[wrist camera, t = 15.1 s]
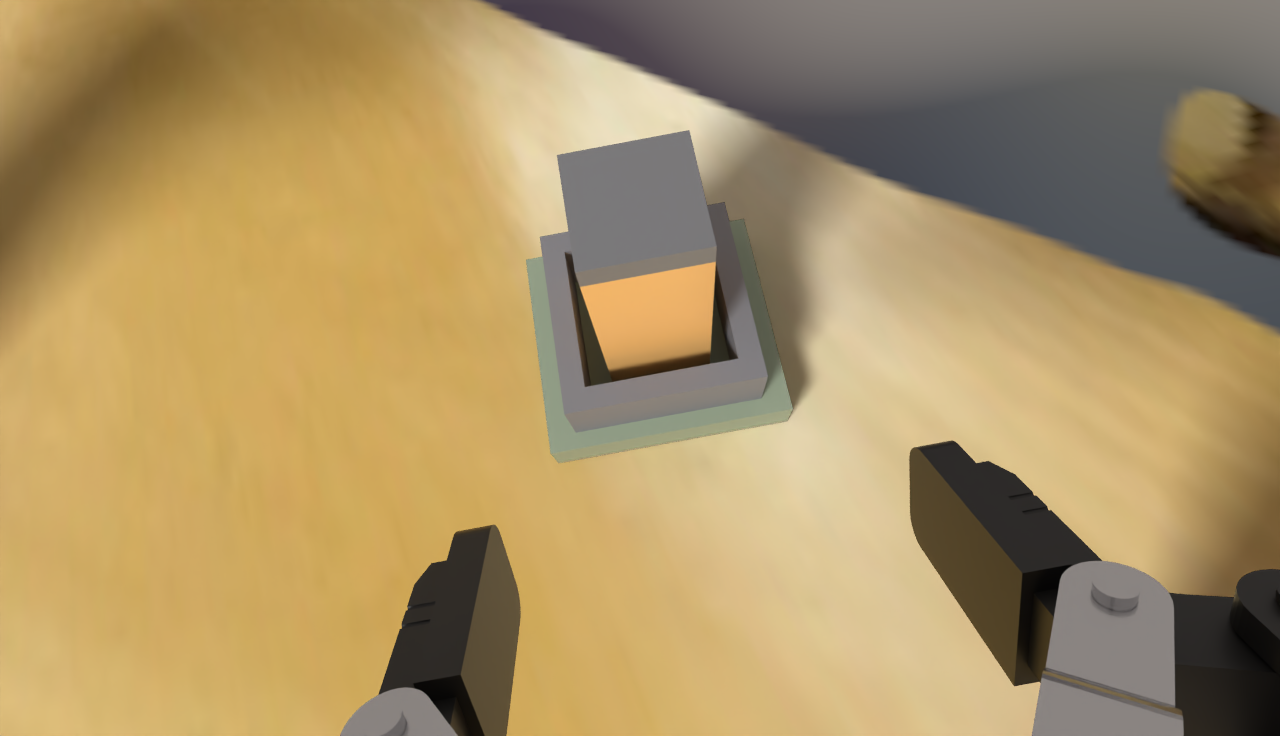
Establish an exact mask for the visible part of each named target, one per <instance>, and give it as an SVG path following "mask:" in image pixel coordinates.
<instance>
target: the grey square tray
mask: <svg viewBox="0 0 1280 736" xmlns="http://www.w3.org/2000/svg"><path fill="white" fill-rule="evenodd" d="M707 208H708V212H709V216H710V220H711V224H712V229H713V233H714V237H715V241H716V246H717V249H716V266H715V283H714V300H713V317H712V334H711V351H710V364H707V365H701V366H696V367H691V368H685V369H680V370H674V371H669V372H664V373H658V374H653V375H647V376H642V377H637V378H631V379H626V380H621V381H615V382H612V379H611V376H610V373H609V370H608V367H607V364H606V362H605V359H604V356H603V353H602V350H601V347H600V344H599V341H598V338H597V335H596V332H595V330H594V327H593V324H592V321H591V318H590V315H589V312H588V309H587V306H586V303H585V300H584V298H583V295H582V292H581V289H580V286H579V283H578V280H577V277H576V274H575V270H574V263H573V257H572V250H571V244H570V237H569V232H564V233H558V234H553V235H548V236H542V237H540V241H541V249H542V256H543V257H538V258H533V259H528V260H526V264H527V272H528V279H529V287H530V295H531V303H532V311H533V319H534V326H535V334H536V342H537V350H538V358H539V366H540V373H541V381H542V389H543V397H544V405H545V413H546V420H547V428H548V436H549V444H550V452H551V455H552V456H553V457H554V458H555V459H556V460H557V462H558V463H563V462H568V461H574V460H579V459H585V458H590V457H596V456H601V455H606V454H612V453H617V452H623V451H628V450H633V449H639V448H644V447H650V446H655V445H661V444H666V443H671V442H677V441H682V440H688V439H693V438H698V437H704V436H709V435H715V434H720V433H726V432H731V431H736V430H742V429H747V428H753V427H758V426H763V425H769V424H774V423H780V422H785V421H788V418H789V416H790V414H791V412H792V410H793V408H792V404H791V400H790V396H789V392H788V388H787V384H786V380H785V377H784V373H783V369H782V365H781V361H780V357H779V353H778V350H777V346H776V342H775V338H774V334H773V330H772V326H771V323H770V319H769V315H768V311H767V307H766V303H765V299H764V295H763V292H762V288H761V284H760V280H759V276H758V272H757V268H756V265H755V261H754V257H753V253H752V249H751V245H750V241H749V237H748V234H747V230H746V226H745V222H744V219H740V220H735V221H730V222H729V218H728V214H727V210H726V206H725V202H723V203H718V204H712V205H707Z"/></svg>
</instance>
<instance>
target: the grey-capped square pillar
mask: <svg viewBox="0 0 1280 736" xmlns="http://www.w3.org/2000/svg"><path fill="white" fill-rule="evenodd" d="M557 158H558V165H559V171H560V178H561V184H562V191H563V198H564V204H565V211H566V217H567V224H568V230H569V237H570V244H571V250H572V257H573V263H574V270H575V274H576V277H577V280H578V283H579V286H580V289H581V292H582V295H583V298H584V300H585V303H586V306H587V309H588V312H589V315H590V318H591V321H592V324H593V327H594V330H595V332H596V335H597V338H598V341H599V344H600V347H601V350H602V353H603V356H604V359H605V362H606V364H607V367H608V370H609V373H610V376H611V379H612V382H615V381H621V380H626V379H631V378H637V377H642V376H647V375H653V374H658V373H664V372H669V371H674V370H680V369H685V368H691V367H696V366H701V365H707V364H710V351H711V334H712V317H713V300H714V283H715V266H716V249H717V246H716V241H715V237H714V233H713V229H712V224H711V220H710V216H709V212H708V208H707V203H706V199H705V195H704V191H703V186H702V182H701V178H700V174H699V170H698V165H697V161H696V157H695V153H694V148H693V144H692V140H691V136H690V132H689V130H688V131H683V132H677V133H672V134H667V135H661V136H656V137H651V138H646V139H640V140H635V141H630V142H624V143H619V144H614V145H608V146H603V147H598V148H592V149H587V150H582V151H576V152H571V153H566V154H560V155H557Z"/></svg>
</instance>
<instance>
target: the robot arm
mask: <svg viewBox="0 0 1280 736" xmlns="http://www.w3.org/2000/svg"><path fill="white" fill-rule="evenodd" d="M909 461H910V516H911V522H912V527H913V530H914V534H915V536H916V539H917V541H918V543H919V545H920V547H921V548H922V550H923V551H924V553H925V554H926V556H927V557H928V559H929V560H930V562H931V563H932V565H933V566H934V568H935V569H936V571H937V572H938V574H939V575H940V577H941V578H942V580H943V581H944V583H945V584H946V585H947V587H948V588H949V590H950V591H951V593H952V594H953V596H954V597H955V599H956V600H957V602H958V603H959V605H960V606H961V608H962V609H963V611H964V612H965V614H966V615H967V617H968V618H969V620H970V621H971V623H972V624H973V626H974V627H975V629H976V630H977V632H978V633H979V635H980V636H981V638H982V639H983V640H984V642H985V643H986V645H987V646H988V648H989V649H990V651H991V652H992V654H993V655H994V657H995V658H996V660H997V661H998V663H999V664H1000V666H1001V667H1002V669H1003V670H1004V672H1005V673H1006V675H1007V676H1008V678H1009V679H1010V681H1011V682H1012V684H1013V685H1014V686H1018V685H1023V684H1029V683H1034V682H1040V683H1041V684H1040V690H1039V696H1038V702H1037V708H1036V714H1035V720H1034V726H1033V732H1032V736H1280V570H1276V569H1268V570H1259V571H1254V572H1251V573H1248V574H1246V575H1245V576H1243V577H1242V578H1241V579H1240V580H1239V581H1238V584H1237V587H1236V591H1235V595H1234V597H1219V596H1202V595H1185V594H1174V593H1168V591H1167V590H1166V589H1165V588H1164V587H1163V586H1162V585H1161V584H1160V583H1159V582H1158V581H1156V580H1155V579H1154V578H1152V577H1151V576H1149V575H1147V574H1145V573H1144V572H1141V571H1139V570H1137V569H1135V568H1132V567H1129V566H1126V565H1122V564H1119V563H1113V562H1107V561H1102V560H1101V559H1100V558H1099V557H1098V556H1097V555H1096V554H1095V553H1094V552H1093V551H1092V550H1091V549H1090V548H1089V547H1088V546H1087V545H1086V544H1085V543H1084V542H1083V541H1082V540H1081V539H1080V538H1079V537H1078V536H1077V535H1076V534H1075V533H1074V532H1073V531H1072V530H1071V529H1070V528H1069V527H1068V526H1067V525H1066V524H1065V523H1064V522H1062V521H1061V520H1060V519H1059V518H1058V517H1057V516H1056V515H1055V514H1054V513H1053V512H1052V511H1051V510H1050V511H1049V510H1048V508H1047V506H1046V505H1045V504H1044V503H1043V502H1042V501H1041V500H1040V499H1039V498H1038V497H1037V496H1034V495H1033V492H1032V491H1031V490H1030V489H1029V488H1028V487H1027V486H1026V485H1025V484H1024V483H1023V482H1022V481H1021V480H1020V479H1019V478H1018V477H1017V476H1016V475H1015V474H1013V473H1011V472H1009V471H1007V470H1005V469H1003V468H1001V467H999V466H997V465H995V464H993V463H991V462H989V461H986V462H981V463H975V461H974V460H973V459H972V458H971V457H970V456H969V455H968V454H967V453H966V452H965V451H964V450H963V449H962V448H961V447H960V446H959V445H958V444H957V443H956V442H955V441H947V442H942V443H936V444H931V445H926V446H920V447H915V448H912V450H911V452H910V460H909ZM407 607H408V610H407V611H406V612H405V615H404V618H403V621H402V629H400V631H399V634H398V637H397V640H396V643H395V646H394V649H393V652H392V655H391V658H390V661H389V664H388V667H387V670H386V673H385V676H384V679H383V683H382V686H381V689H380V692H379V695H378V696H376V697H374V698H372V699H371V700H369V701H368V702H366V703H365V704H364V705H363V706H361V707H360V708H359V709H358V710H357V711H356V712H355V713H354V714H353V715H352V717H351V718H350V719H349V720H348V722H347V723H346V725H345V726H344V728H343V730H342V732H341V735H340V736H506V734H507V726H508V717H509V709H510V701H511V692H512V684H513V676H514V667H515V659H516V651H517V642H518V634H519V626H520V599H519V593H518V588H517V585H516V581H515V578H514V575H513V572H512V569H511V566H510V563H509V560H508V557H507V554H506V550H505V547H504V544H503V541H502V538H501V535H500V532H499V530H498V528H497V527H496V525H490V526H485V527H479V528H474V529H469V530H463V531H458V532H456V533H455V534H454V537H453V540H452V544H451V547H450V551H449V555H448V558H447V561H442V562H436V563H431V565H430V566H429V567H428V568H427V570H426V571H425V572H424V573H423V575H422V576H421V577H420V578H419V580H418V581H417V582H416V583H415V585H414V588H413V591H412V594H411V597H410V600H409V603H408V606H407Z"/></svg>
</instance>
